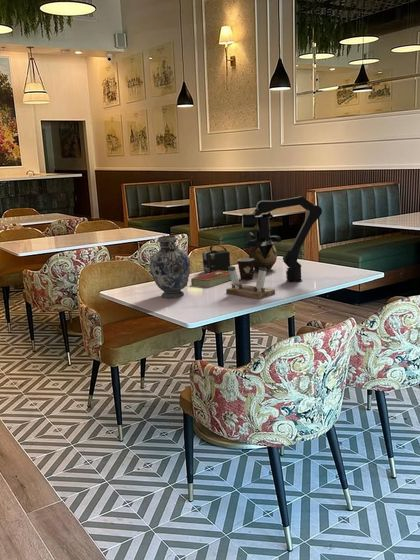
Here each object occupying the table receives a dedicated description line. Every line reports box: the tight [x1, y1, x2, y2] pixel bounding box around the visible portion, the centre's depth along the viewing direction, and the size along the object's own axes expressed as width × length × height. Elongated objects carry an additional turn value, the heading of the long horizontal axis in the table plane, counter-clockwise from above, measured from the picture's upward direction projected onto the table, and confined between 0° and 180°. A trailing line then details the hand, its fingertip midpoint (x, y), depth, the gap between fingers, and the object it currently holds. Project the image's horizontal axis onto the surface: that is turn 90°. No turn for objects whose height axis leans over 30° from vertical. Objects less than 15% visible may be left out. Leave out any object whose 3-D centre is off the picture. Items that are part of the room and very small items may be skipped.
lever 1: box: [228, 265, 241, 287], centre depth 244 cm, size 2×3×9 cm, turn 42°
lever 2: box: [255, 267, 268, 289], centre depth 236 cm, size 2×3×9 cm, turn 41°
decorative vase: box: [149, 234, 191, 299], centre depth 247 cm, size 21×19×28 cm
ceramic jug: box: [248, 241, 278, 272], centre depth 292 cm, size 17×15×30 cm
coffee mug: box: [236, 257, 262, 281], centre depth 273 cm, size 12×9×10 cm
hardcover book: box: [190, 271, 232, 288], centre depth 273 cm, size 12×21×4 cm, turn 139°
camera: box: [202, 244, 231, 274], centre depth 299 cm, size 11×14×15 cm
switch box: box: [226, 283, 276, 300], centre depth 242 cm, size 11×20×4 cm, turn 42°
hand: (265, 258), depth 260 cm, fingers closed
